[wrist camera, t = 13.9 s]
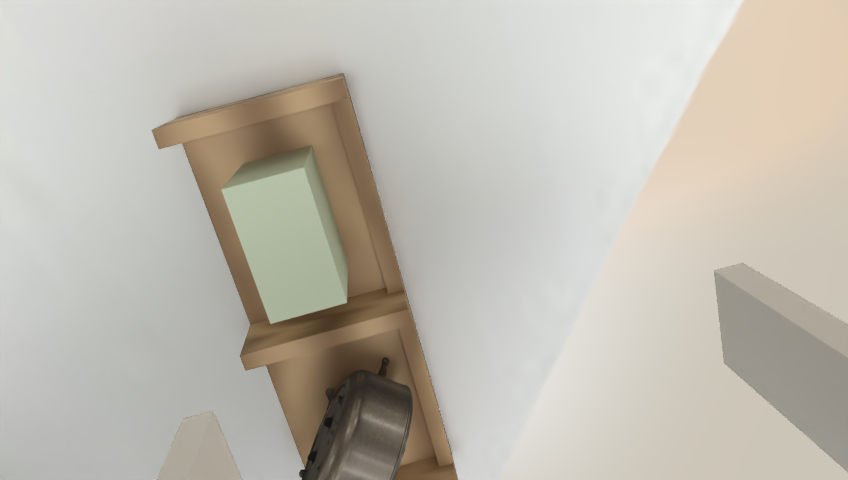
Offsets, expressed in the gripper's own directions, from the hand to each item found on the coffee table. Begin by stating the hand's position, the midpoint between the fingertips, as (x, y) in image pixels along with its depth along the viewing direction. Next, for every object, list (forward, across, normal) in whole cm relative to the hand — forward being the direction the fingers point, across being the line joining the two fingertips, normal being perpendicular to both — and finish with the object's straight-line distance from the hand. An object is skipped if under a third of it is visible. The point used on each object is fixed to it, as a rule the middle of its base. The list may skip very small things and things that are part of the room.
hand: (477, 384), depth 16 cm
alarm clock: (+32, -9, -18) cm, 37 cm away
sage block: (+31, -8, -2) cm, 33 cm away
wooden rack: (+33, -8, -10) cm, 35 cm away
